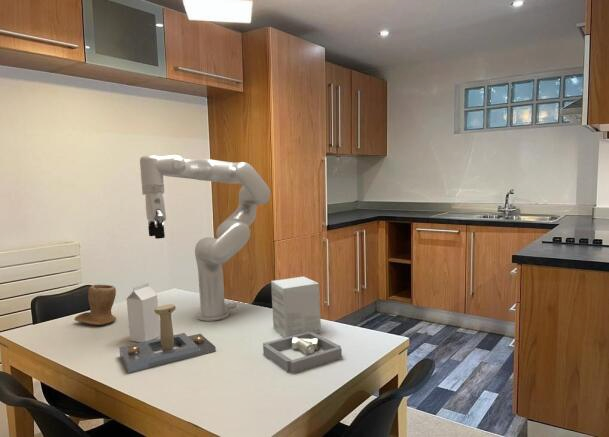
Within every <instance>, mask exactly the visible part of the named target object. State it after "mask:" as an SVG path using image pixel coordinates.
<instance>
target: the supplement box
mask: <svg viewBox="0 0 609 437" xmlns="http://www.w3.org/2000/svg"><path fill="white" fill-rule="evenodd" d="M270 283H271V303H272V304H271V305H272V307H271V308H272V323H273V327H272V328H273V329H274V330H275V331H276V332H278V334H280V335H281V337H282V338H285V337H289V336H293V335H297V334H301V333H305V332H311V333H312V332H314V333H316V334H319V333H322V327H321V326H322V325H321V324H322V323H321V322H322V320H321V306H320V305H321V303H320V302H321V301H320V285H319V284H320V283H319V282H317V281H315V280H313V279H310V278H308V277H306V276H297V277H291V278H284V279H278V280H277V279H276V280H271V281H270Z"/></svg>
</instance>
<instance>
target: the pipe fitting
mask: <svg viewBox="0 0 609 437" xmlns="http://www.w3.org/2000/svg"><path fill="white" fill-rule="evenodd" d="M291 349H292V350H300V351H301V352H303V353H304V354H305V355H306V356H308V355H312V354H314V352H315V351H319V349H320V348H319V339H317V338H313V339H308V338H293V339H292V347H291Z"/></svg>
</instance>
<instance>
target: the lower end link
mask: <svg viewBox="0 0 609 437" xmlns="http://www.w3.org/2000/svg"><path fill="white" fill-rule="evenodd" d="M187 336H188V337H189V338H190V339H191V340H192V341H193V342H194V343H195V344H196V345H197V346H198V351H196V352H192V353H188V354H184V355H180V356H176V357H172V358H168V359H164V360H160V361H155V362H151V363H148V366H149V368H148V369H150V368H151V369H152V368H155V367H159V366H162V365H163V366H164V365H167V364H171V363H175V362H179V361H182V360H187V359H190V358H195V357H198V356H199V357H200V356H203V355H207V354H211V353H215V352H216V346H215V345H214V344H213V343H212V342H211V341H210V340H208V339H207V338H206V337H205V336H204V335H203V334H201V333H197V334H193V335H187ZM178 346H179V347H184V346H183V344H182V343H181V342H180V341H177V342H174V346H173V348H175V347H178ZM151 349H152V350H153V352H157V351H162V350H163V349H162V346H161V345H160V346H155V347H151Z"/></svg>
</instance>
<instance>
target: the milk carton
mask: <svg viewBox="0 0 609 437" xmlns="http://www.w3.org/2000/svg"><path fill="white" fill-rule="evenodd" d="M126 306H127V321H128V322H127V323H128V331H129V332H128V333H129V341H130V342H137V343H141V342H145V341H150V340H154V339H158V338H160V315H158V314H156V313H155V311H154V308H156V307H159V303H158V294H157V293H156V292H155V291H154V290H153V289H152V288H151V286H150V283H149V282H147V283H144V284H141V285H138V286H135V287H133V288H132V292H131V293H130V294H129V295H128V297H126Z"/></svg>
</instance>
